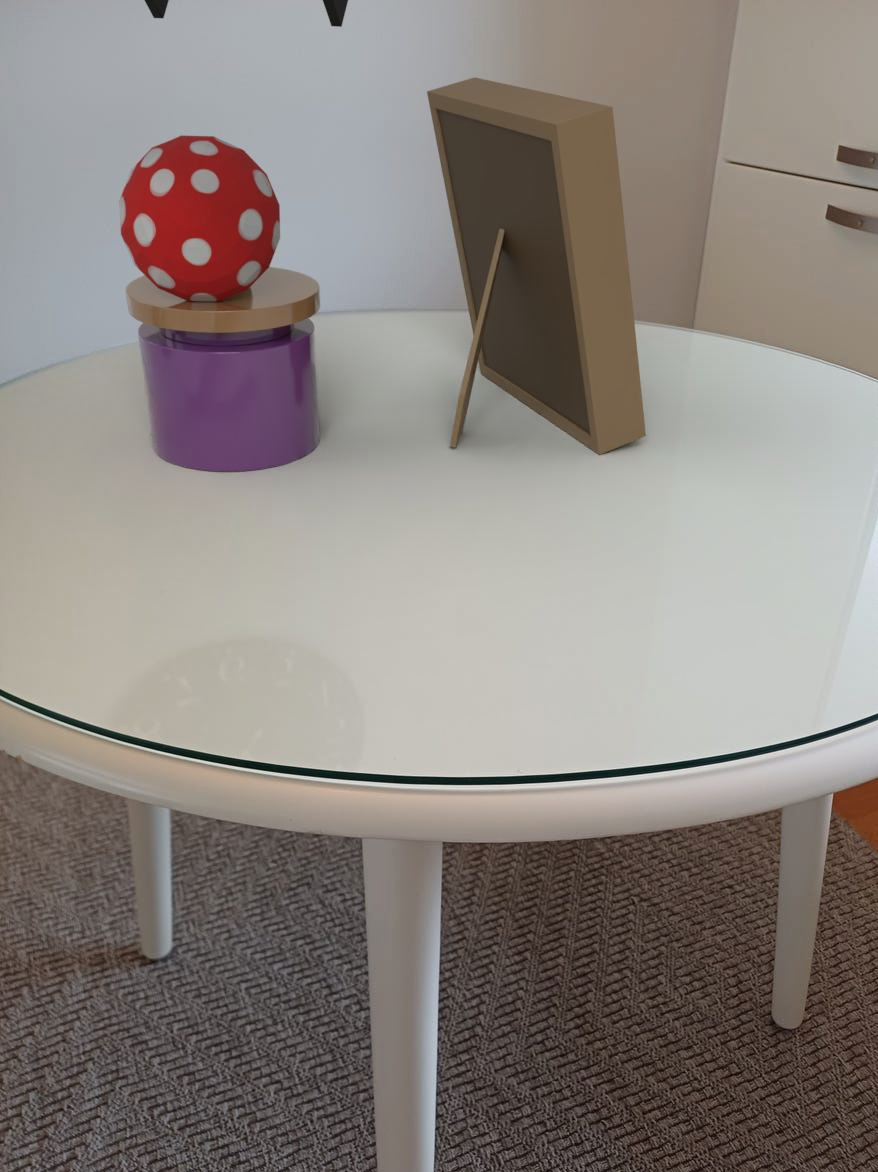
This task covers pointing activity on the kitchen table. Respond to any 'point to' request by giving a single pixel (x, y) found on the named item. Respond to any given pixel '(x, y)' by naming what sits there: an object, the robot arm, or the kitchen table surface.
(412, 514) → the kitchen table surface
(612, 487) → the kitchen table surface
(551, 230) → the photo frame
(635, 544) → the kitchen table surface
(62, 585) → the kitchen table surface
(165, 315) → the jar
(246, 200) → the red polka-dot ball
